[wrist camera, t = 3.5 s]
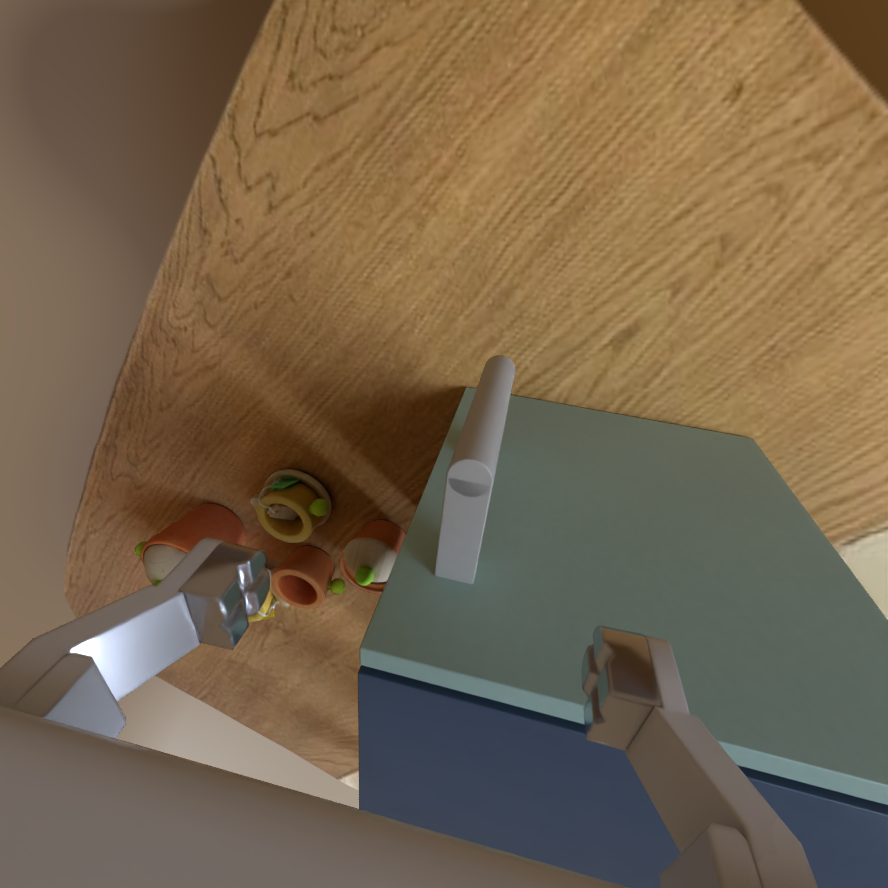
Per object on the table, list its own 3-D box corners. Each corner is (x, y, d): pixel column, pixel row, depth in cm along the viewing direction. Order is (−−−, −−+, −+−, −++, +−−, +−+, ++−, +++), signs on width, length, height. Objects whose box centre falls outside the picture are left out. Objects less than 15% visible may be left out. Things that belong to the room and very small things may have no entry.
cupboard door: (477, 307, 30) (358, 516, 12) (797, 358, 27) (1270, 720, 9) (464, 398, 34) (359, 665, 15) (746, 450, 31) (1015, 839, 13)
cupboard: (464, 400, 34) (357, 673, 15) (743, 452, 31) (1012, 849, 13) (445, 535, 41) (359, 827, 23) (670, 585, 39) (774, 958, 20)
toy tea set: (256, 607, 54) (203, 684, 46) (163, 512, 48) (85, 580, 40) (439, 558, 43) (413, 647, 35) (349, 428, 37) (292, 498, 29)
